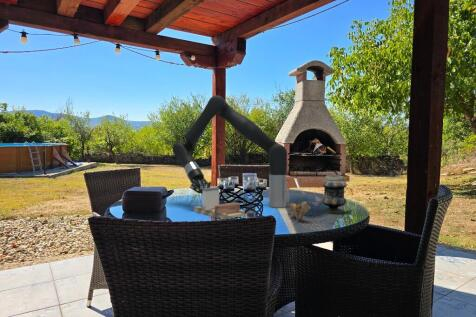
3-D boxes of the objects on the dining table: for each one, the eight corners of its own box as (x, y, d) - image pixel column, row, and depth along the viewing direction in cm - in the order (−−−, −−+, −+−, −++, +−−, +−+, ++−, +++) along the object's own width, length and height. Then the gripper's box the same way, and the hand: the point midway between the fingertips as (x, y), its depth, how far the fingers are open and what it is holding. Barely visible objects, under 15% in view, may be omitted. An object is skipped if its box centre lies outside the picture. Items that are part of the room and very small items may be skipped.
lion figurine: (311, 222, 148) (311, 201, 147) (301, 223, 146) (302, 202, 145) (291, 215, 161) (292, 196, 161) (282, 216, 159) (282, 197, 158)
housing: (193, 211, 169) (193, 200, 168) (212, 208, 177) (212, 197, 176) (225, 220, 151) (225, 207, 151) (244, 216, 159) (244, 204, 159)
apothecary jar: (350, 213, 165) (351, 177, 164) (327, 215, 162) (328, 177, 161) (338, 208, 177) (339, 174, 175) (317, 209, 174) (317, 174, 173)
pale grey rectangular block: (202, 208, 166) (202, 188, 166) (215, 206, 172) (215, 187, 171) (206, 209, 164) (206, 189, 164) (219, 207, 170) (219, 187, 169)
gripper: (186, 168, 171) (200, 195, 163) (206, 167, 180) (221, 192, 172) (180, 178, 176) (194, 204, 167) (201, 176, 185) (215, 201, 176)
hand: (208, 198), depth 170 cm, fingers closed
